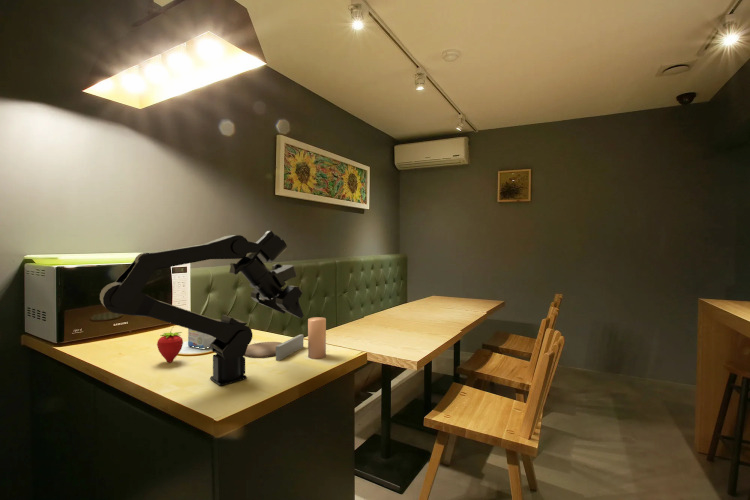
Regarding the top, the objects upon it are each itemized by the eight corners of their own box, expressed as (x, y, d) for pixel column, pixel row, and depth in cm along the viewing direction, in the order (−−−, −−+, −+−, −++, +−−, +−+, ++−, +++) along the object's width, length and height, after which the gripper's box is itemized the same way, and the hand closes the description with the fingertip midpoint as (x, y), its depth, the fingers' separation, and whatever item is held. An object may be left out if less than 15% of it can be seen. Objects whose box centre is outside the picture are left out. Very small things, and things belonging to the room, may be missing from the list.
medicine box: (187, 346, 113) (187, 320, 113) (200, 343, 117) (199, 317, 117) (203, 350, 110) (203, 322, 110) (215, 346, 114) (215, 319, 114)
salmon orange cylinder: (315, 360, 100) (315, 321, 100) (304, 356, 104) (304, 319, 104) (329, 355, 104) (329, 319, 104) (318, 352, 107) (318, 316, 107)
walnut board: (254, 361, 99) (254, 358, 99) (233, 350, 109) (233, 348, 109) (297, 350, 109) (297, 347, 109) (273, 341, 119) (273, 339, 119)
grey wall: (279, 360, 100) (279, 346, 99) (275, 360, 100) (275, 346, 100) (303, 346, 113) (303, 334, 113) (300, 346, 113) (300, 334, 113)
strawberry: (173, 357, 102) (173, 323, 102) (188, 361, 99) (188, 326, 98) (152, 363, 97) (151, 327, 97) (166, 368, 94) (166, 330, 93)
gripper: (298, 254, 88) (330, 297, 96) (263, 253, 102) (294, 290, 109) (267, 286, 82) (304, 329, 90) (234, 280, 96) (269, 318, 103)
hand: (293, 314), depth 98 cm, fingers open, 9 cm apart
